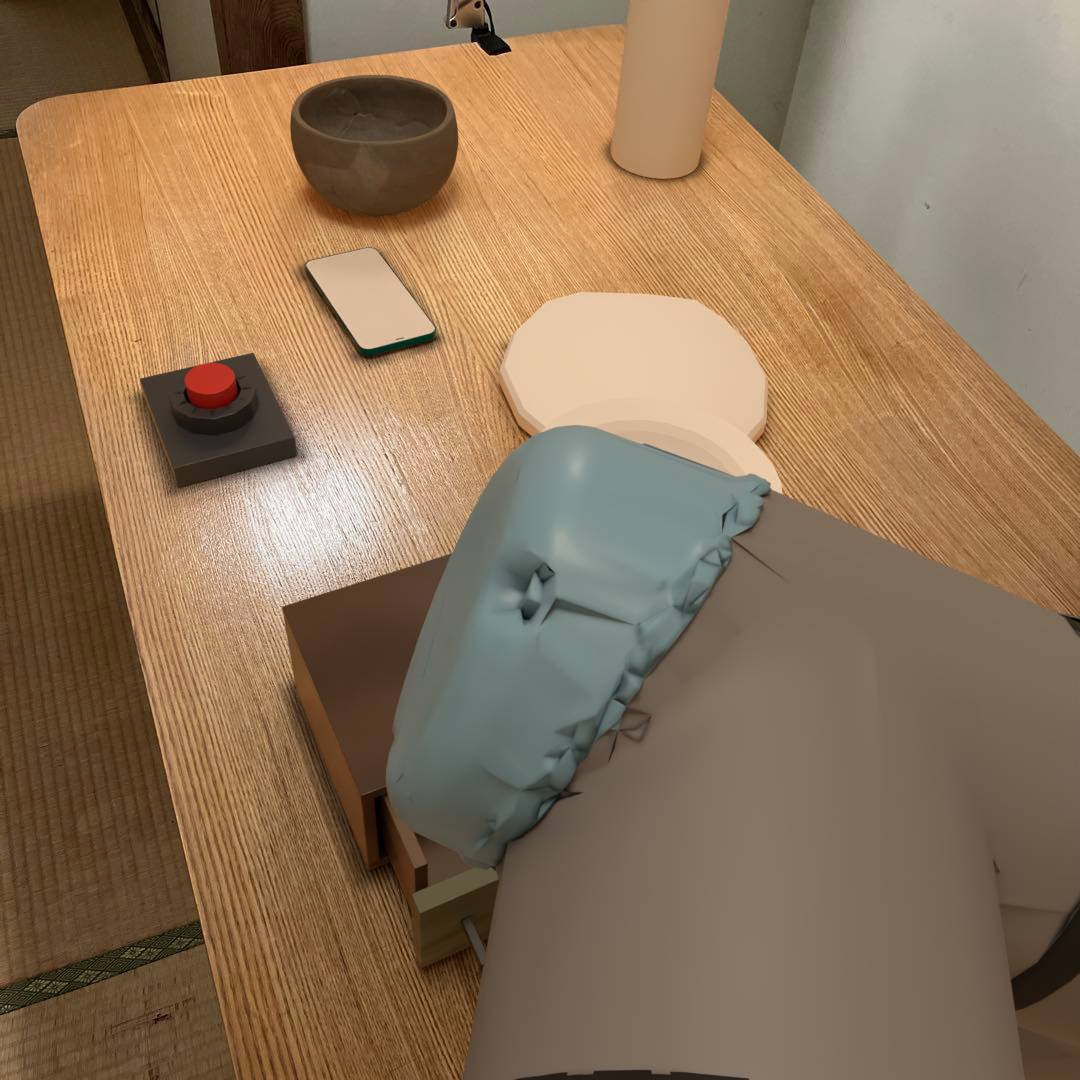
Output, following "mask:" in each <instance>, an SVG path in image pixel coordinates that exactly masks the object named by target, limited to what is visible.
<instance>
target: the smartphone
mask: <svg viewBox="0 0 1080 1080" xmlns="http://www.w3.org/2000/svg"><path fill="white" fill-rule="evenodd" d="M304 270H305V273H306V275H307V277H308V278H309V281H311V283H312V284H313V286H314V287H315V289H316V290H317V292H318V293H319V294H320V296H321V298H322V300H323V301H324V302H325V304H326V305H327V306H328V309H329V310H330V311H331V312H332V314H333V316H334V317H335V319H336V320H337V322H338V323H339V325H340V326H341V328H342V329H343V331H344V332H345V334H346V335H347V337H348V338H349V340H350V341H351V343H352V344H353V346H354V347H355V349H356V350H357V352H358V353H359V354H360V355H362V356H365V357H373V356H377V355H381V354H385V353H389V352H392V351H396V350H400V349H403V348H406V347H411V346H414V345H418V344H422V343H425V342H429V341H432V340H434V339H435V338H436V336H437V327H436V325H435V323H434V322H433V321H432V319H431V318H430V317H429V316H428V314H427V313H426V312H425V311H424V309H423V308H422V307H421V305H420V304H419V303H418V301H417V300H416V298H415V297H414V296H413V294H412V293H411V292H410V290H409V289H408V288H407V286H406V285H405V284H404V283H403V281H402V280H401V279H400V277H399V276H398V275H397V273H396V272H395V270H394V269H393V268H392V267H391V265H390V264H389V262H388V261H387V260H386V258H384V256H383V255H382V253H381V252H380V251H379V250H378V249H377V248H374V247H372V246H371V247H370V246H369V247H362V248H357V249H353V250H347V251H344V252H340V253H335V254H331V255H327V256H321V257H316V258H313V259H310V260H307V261H306V263H305V264H304Z"/></svg>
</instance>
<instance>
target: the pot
mask: <svg viewBox="0 0 1080 1080" xmlns="http://www.w3.org/2000/svg"><path fill="white" fill-rule="evenodd" d="M570 425H583V426H591V427H595V428H598V429H601V430H604V431H606V432H609V433H612V434H615V435H617V436H620V437H623V438H626V439H628V440H631V441H634V442H637V443H639V444H644V443H646V444H649V445H651V446H654V447H657V448H659V449H662V450H665V451H668V452H670V453H673V454H676V455H679V456H681V457H684V458H687V459H689V460H692V461H695V462H698V463H700V464H703V465H706V466H709V467H711V468H714V469H717V470H719V471H722V472H725V473H728V474H730V475H733V476H745V475H748V474H749V473H751V474H755V475H757V476H759V477H761V478H763V479H766V481H768V482H770V483H771V486H770V488H772V490H774V491H776V492H779V493H781V494H783V487H782V481H781V478H780V477H779V475H778V472H777V470H776V468H775V466H774V464H773V463H772V462H771V459H769V458H768V456H767V455H766V454H765V453H764V451H763V450H762V449H761V448H760V447H759V446H758V445H757V444H756V442H755V443H754V442H753V441H752V440H751V439H750V438H749V437H748V436H747V435H746V434H744V433H743V432H741V431H740V430H738V429H737V428H735V427H734V426H733V425H731V424H730V423H728V422H727V421H725V420H723V419H721V418H719V417H717V416H714V415H712V414H710V413H708V412H706V411H703V410H699V409H696V408H693V407H689V406H686V405H682V404H679V403H675V402H671V401H664V400H657V399H650V398H622V399H608V400H604V401H599V402H595V403H591V404H587V405H583V406H580V407H578V408H576V409H574V410H572V411H570V412H568V413H566V414H564V415H562V416H560V417H558V418H556V419H554V420H553V421H552V422H551V423H550V424H549V425H548V426H547V427H546V428H545V429H544V430H543V431H542V432H544V431H546V430H549V429H552V428H554V427H560V426H570Z"/></svg>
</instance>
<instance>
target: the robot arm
mask: <svg viewBox="0 0 1080 1080" xmlns="http://www.w3.org/2000/svg"><path fill="white" fill-rule="evenodd" d="M770 486H771V483H770V482H768V481H766V479H763V478H761V477H759V476H757V475H755V474H751V473H749V474H748V475H745V476H733V475H730V474H728V473H725V472H722V471H719V470H717V469H714V468H711V467H709V466H706V465H703V464H700V463H698V462H695V461H692V460H689V459H687V458H684V457H681V456H679V455H676V454H673V453H670V452H668V451H665V450H662V449H659V448H657V447H654V446H651V445H649V444H646V443H644V444H639V443H637V442H634V441H631V440H628V439H626V438H623V437H620V436H617V435H615V434H612V433H609V432H606V431H604V430H601V429H598V428H595V427H591V426H583V425H570V426H560V427H554V428H552V429H549V430H546V431H544V432H541V433H538V434H536V435H533V436H531V437H529V438H528V439H527V440H525V441H524V442H522V443H521V444H520V445H518V446H516V448H514V449H513V450H512V451H511V452H510V454H508V455H507V457H506V458H504V459H503V461H502V462H501V463H500V465H499V466H498V468H496V470H495V472H494V473H493V474H492V476H491V478H490V479H489V481H488V482H487V484H486V486H485V488H484V489H483V491H482V492H481V493H480V496H479V498H478V500H477V501H476V503H475V505H474V507H473V509H472V511H471V512H470V514H469V516H468V518H467V520H466V522H465V525H464V527H463V529H462V531H461V533H460V535H459V537H458V539H457V542H456V544H455V546H454V548H453V550H452V552H451V553H452V555H451V557H450V559H449V561H448V564H447V566H446V568H445V571H444V573H443V576H442V578H441V580H440V583H439V585H438V588H437V590H436V592H435V595H434V598H433V600H432V603H431V606H430V608H429V611H428V614H427V616H426V619H425V622H424V624H423V627H422V630H421V633H420V635H419V638H418V641H417V644H416V647H415V650H414V654H413V657H412V660H411V663H410V666H409V669H408V672H407V675H406V678H405V682H404V685H403V688H402V692H401V695H400V698H399V702H398V706H397V710H396V714H395V718H394V723H393V729H392V732H393V735H394V741H393V743H392V746H391V749H390V752H389V756H388V762H387V767H386V786H387V793H388V797H389V799H390V802H391V805H392V808H393V810H394V812H395V814H396V815H397V816H398V818H399V819H400V820H401V822H402V823H403V824H404V825H406V826H407V827H408V828H409V829H411V830H412V831H414V832H416V833H418V834H420V835H422V836H424V837H426V838H428V839H430V840H432V841H434V842H437V843H439V844H441V845H443V846H445V847H447V848H449V849H451V850H453V851H456V852H458V853H459V855H460V857H461V859H462V861H463V862H464V863H465V865H467V866H471V867H474V868H478V869H482V870H487V869H489V868H490V867H491V868H492V869H494V870H495V871H496V872H497V876H498V879H499V884H498V889H497V895H496V900H495V906H494V911H493V917H492V922H491V927H490V933H489V938H488V939H487V945H486V948H485V949H486V955H485V960H484V966H483V971H482V977H481V981H480V983H479V988H478V993H477V999H476V1004H475V1009H474V1015H473V1021H472V1027H471V1032H470V1038H469V1043H468V1048H467V1054H466V1060H465V1063H464V1064H465V1065H464V1068H463V1069H464V1070H463V1074H462V1080H1080V617H1079V616H1076V615H1073V614H1069V613H1060V612H1055V611H1054V610H1052V609H1050V608H1047V607H1044V606H1042V605H1040V604H1038V603H1035V602H1033V601H1031V600H1029V599H1027V598H1024V597H1021V596H1019V595H1017V594H1014V593H1012V592H1010V591H1007V590H1005V589H1002V588H1000V587H999V586H996V585H993V584H991V583H988V582H986V581H985V580H981V579H979V578H977V577H974V576H972V575H969V574H967V573H966V572H963V571H960V570H958V569H956V568H953V567H951V566H949V565H946V564H944V563H941V562H939V561H937V560H934V559H932V558H930V557H927V556H925V555H922V554H920V553H918V552H916V551H913V550H911V549H909V548H906V547H904V546H902V545H900V544H897V543H895V542H892V541H891V540H888V539H886V538H884V537H882V536H879V535H877V534H875V533H872V532H870V531H867V530H866V529H863V528H860V527H859V526H856V525H854V524H851V523H849V522H847V521H844V520H843V519H840V518H838V517H835V516H833V515H831V514H829V513H827V512H824V511H822V510H820V509H818V508H815V507H813V506H811V505H808V504H806V503H804V502H801V501H799V500H797V499H794V498H793V497H790V496H787V495H786V494H783V493H782V494H781V493H779V492H776V491H774V490H772V488H770Z"/></svg>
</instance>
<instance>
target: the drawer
mask: <svg viewBox="0 0 1080 1080" xmlns="http://www.w3.org/2000/svg"><path fill="white" fill-rule="evenodd" d="M374 799H375V810H376V821H377V830H378V832H379V835H380V837H381V840H382V842H383V844H384V847H385V849H386V852H387V854H388V856H389V859H390V861H391V863H390V864H391V866H392V869H393V871H394V873H395V875H396V878H397V880H398V882H399V885H400V887H401V889H402V892H403V894H404V897H405V900H406V902H407V904H408V907H409V909H410V912H411V915H412V916H411V917H412V918H411V919H412V939H413V952H414V955H415V957H416V960H417V962H418V964H419V967H420V969H424V968H427V967H428V966H431V965H432V964H435V963H437V962H439V961H441V960H443V959H446V958H448V957H450V956H453V955H455V954H458V953H459V952H461V951H463V950H466V949H468V948H471V950H472V952H473V955H474V957H475V959H476V962H477V965H478V966H479V967H478V968H477V973H478V977H479V980H480V982H481V977H482V971H483V966H484V960H485V955H486V949H487V948H486V947H485V945H484V942H483V941H485V940H488V938H489V933H490V927H491V922H492V917H493V911H494V906H495V900H496V895H497V889H498V884H499V879H498V876H497V872H496V871H495V870H494V869H492V868H491V867H490V868H489V869H487V870H482V869H478V868H474V867H471V866H467V865H465V863H464V862H463V861H462V859H461V857H460V855H459V853H458V852H456V851H453V850H451V849H449V848H447V847H445V846H443V845H441V844H439V843H437V842H434V841H432V840H430V839H428V838H426V837H424V836H422V835H420V834H418V833H416V832H414V831H412V830H411V829H409V828H408V827H407V826H406V825H404V824H403V823H402V822H401V820H400V819H399V818H398V816H397V815H396V814H395V812H394V810H393V808H392V805H391V802H390V799H389V797H388V793H386V794H383V795H381V796H378V797H375V798H374Z"/></svg>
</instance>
